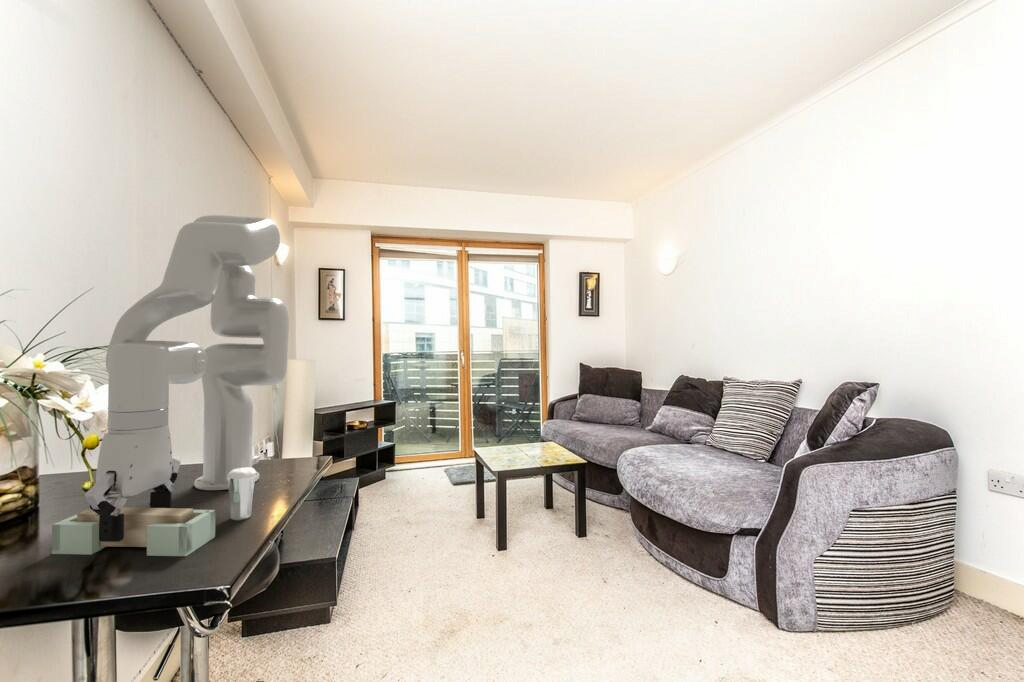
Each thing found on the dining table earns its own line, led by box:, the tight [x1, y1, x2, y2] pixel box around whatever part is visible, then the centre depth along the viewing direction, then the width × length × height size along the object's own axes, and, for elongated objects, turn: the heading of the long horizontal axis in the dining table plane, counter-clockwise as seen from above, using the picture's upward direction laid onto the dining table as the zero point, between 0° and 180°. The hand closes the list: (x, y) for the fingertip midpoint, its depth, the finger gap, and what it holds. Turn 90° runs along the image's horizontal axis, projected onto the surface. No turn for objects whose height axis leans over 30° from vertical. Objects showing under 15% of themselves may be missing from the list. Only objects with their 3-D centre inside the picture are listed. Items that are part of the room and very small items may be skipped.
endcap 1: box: [51, 514, 108, 555], centre depth 74 cm, size 6×7×4 cm
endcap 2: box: [146, 509, 216, 557], centre depth 74 cm, size 6×7×4 cm
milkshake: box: [227, 459, 257, 521], centre depth 87 cm, size 4×5×10 cm
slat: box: [76, 506, 194, 548], centre depth 74 cm, size 16×3×5 cm, turn 90°
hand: (137, 527), depth 74 cm, fingers open, 9 cm apart
